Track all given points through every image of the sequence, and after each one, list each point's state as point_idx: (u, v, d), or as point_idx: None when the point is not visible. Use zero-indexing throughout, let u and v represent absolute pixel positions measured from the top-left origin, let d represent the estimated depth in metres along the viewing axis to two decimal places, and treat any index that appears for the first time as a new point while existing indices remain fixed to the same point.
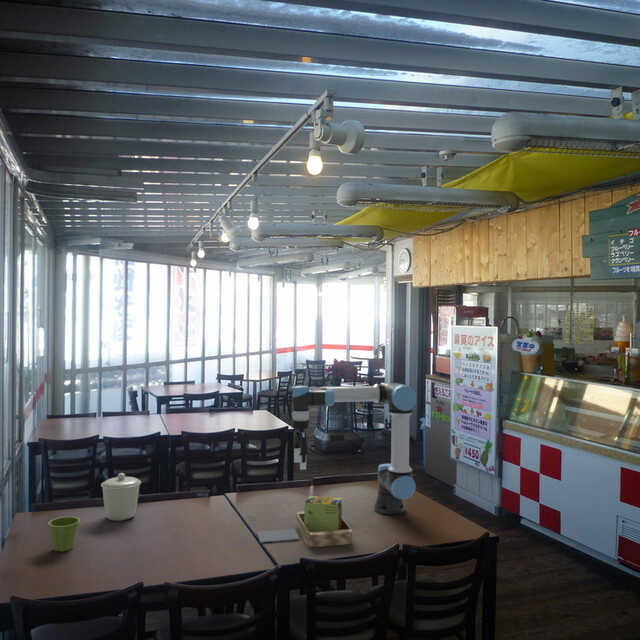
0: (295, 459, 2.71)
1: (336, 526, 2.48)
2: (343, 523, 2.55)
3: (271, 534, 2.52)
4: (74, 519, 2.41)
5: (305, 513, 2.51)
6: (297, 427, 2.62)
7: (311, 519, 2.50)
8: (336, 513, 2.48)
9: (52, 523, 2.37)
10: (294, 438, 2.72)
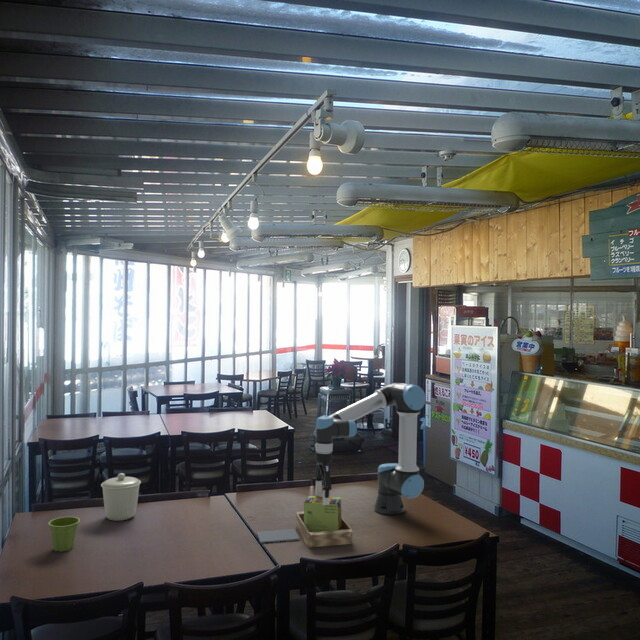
0: (316, 492, 2.61)
1: (336, 525, 2.48)
2: (343, 523, 2.55)
3: (271, 534, 2.52)
4: (74, 519, 2.41)
5: (305, 513, 2.51)
6: (320, 460, 2.51)
7: (311, 519, 2.50)
8: (335, 512, 2.48)
9: (52, 523, 2.37)
10: (316, 470, 2.62)
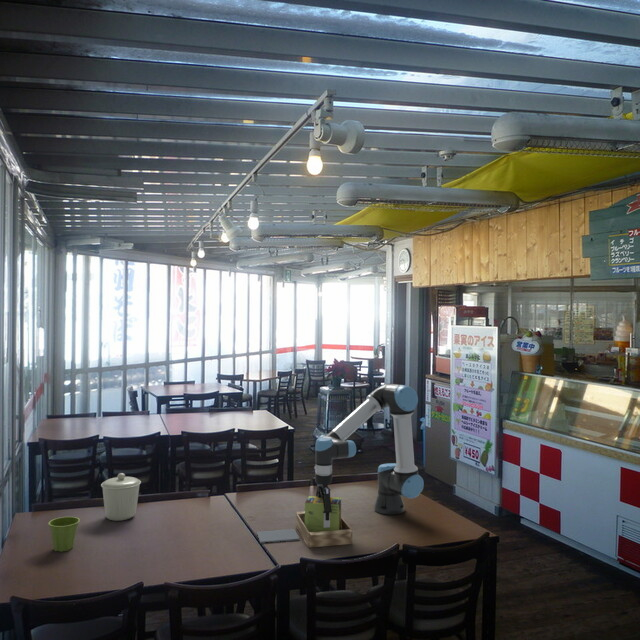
0: None
1: (337, 526, 2.49)
2: (343, 523, 2.55)
3: (271, 534, 2.52)
4: (74, 519, 2.41)
5: (306, 513, 2.50)
6: (320, 482, 2.51)
7: (312, 519, 2.50)
8: (337, 513, 2.49)
9: (52, 523, 2.37)
10: (316, 492, 2.62)
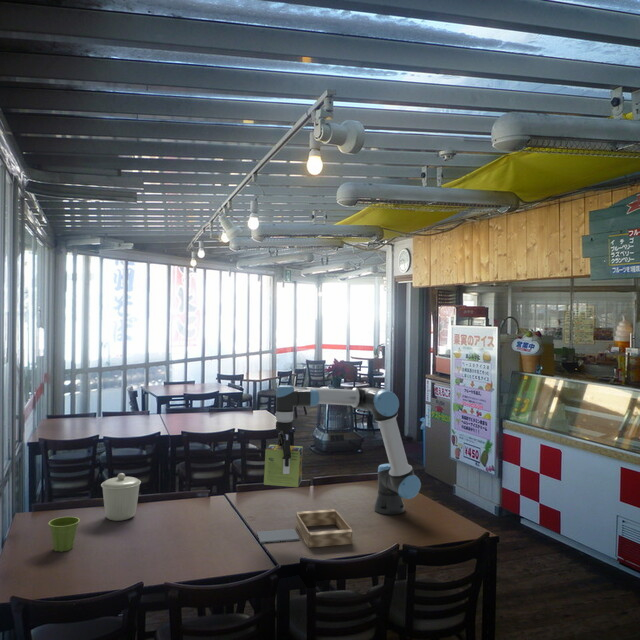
0: None
1: (297, 472, 2.46)
2: (343, 523, 2.55)
3: (271, 534, 2.52)
4: (74, 519, 2.41)
5: (266, 459, 2.48)
6: (281, 429, 2.49)
7: (272, 465, 2.47)
8: (297, 459, 2.46)
9: (52, 523, 2.37)
10: (278, 441, 2.59)
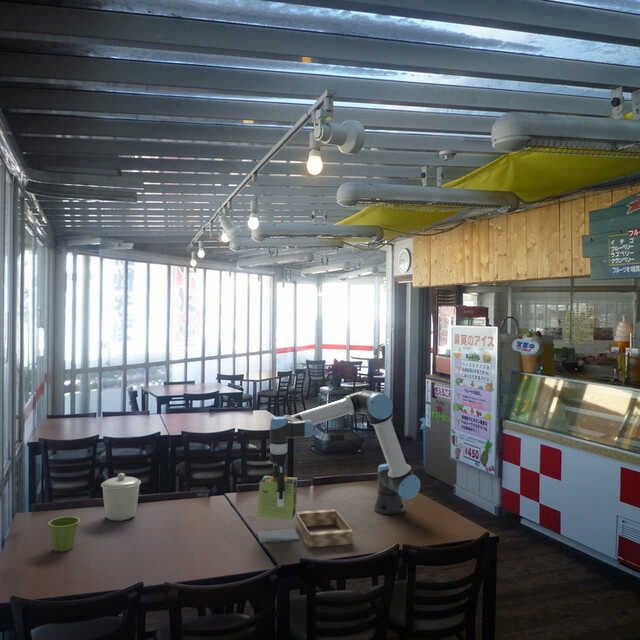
0: None
1: (291, 505, 2.46)
2: (343, 523, 2.55)
3: (271, 534, 2.52)
4: (74, 519, 2.41)
5: (260, 492, 2.47)
6: (275, 461, 2.48)
7: (266, 498, 2.47)
8: (291, 492, 2.46)
9: (52, 523, 2.37)
10: (272, 472, 2.59)
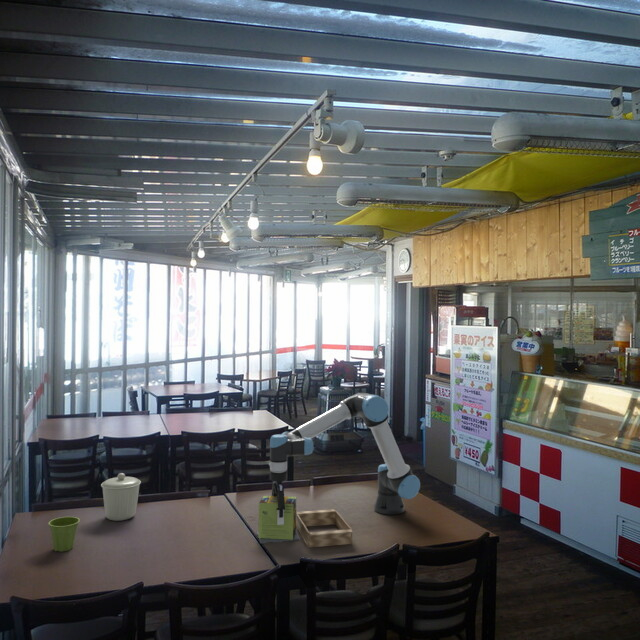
0: None
1: (291, 525, 2.46)
2: (343, 523, 2.55)
3: None
4: (74, 519, 2.41)
5: (260, 513, 2.47)
6: (274, 479, 2.48)
7: (266, 519, 2.47)
8: (291, 512, 2.46)
9: (52, 523, 2.37)
10: (272, 489, 2.59)
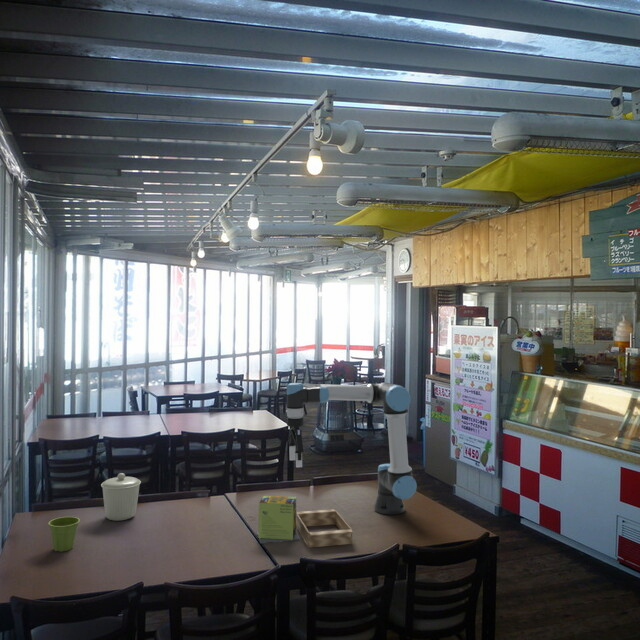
0: (290, 457, 2.68)
1: (291, 525, 2.46)
2: (343, 523, 2.55)
3: None
4: (74, 519, 2.41)
5: (260, 513, 2.47)
6: (292, 425, 2.59)
7: (266, 519, 2.47)
8: (291, 512, 2.46)
9: (52, 523, 2.37)
10: (289, 436, 2.69)
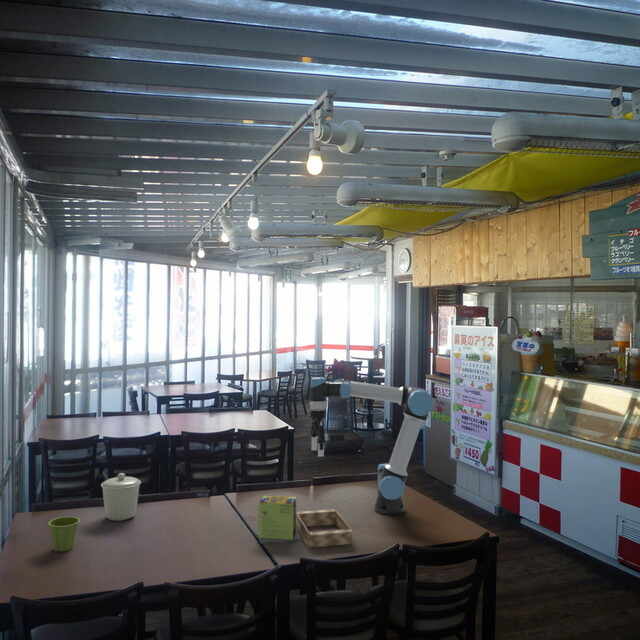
0: (312, 447, 2.85)
1: (291, 525, 2.46)
2: (343, 523, 2.55)
3: None
4: (74, 519, 2.41)
5: (260, 513, 2.47)
6: (315, 416, 2.75)
7: (266, 519, 2.47)
8: (291, 512, 2.46)
9: (52, 523, 2.37)
10: (311, 427, 2.86)
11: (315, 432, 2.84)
